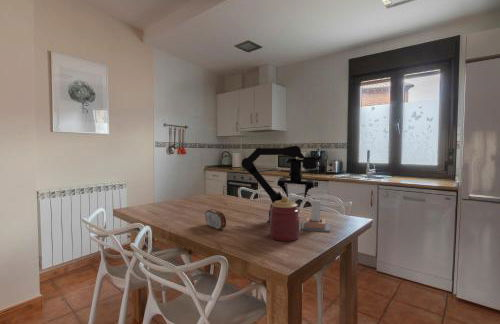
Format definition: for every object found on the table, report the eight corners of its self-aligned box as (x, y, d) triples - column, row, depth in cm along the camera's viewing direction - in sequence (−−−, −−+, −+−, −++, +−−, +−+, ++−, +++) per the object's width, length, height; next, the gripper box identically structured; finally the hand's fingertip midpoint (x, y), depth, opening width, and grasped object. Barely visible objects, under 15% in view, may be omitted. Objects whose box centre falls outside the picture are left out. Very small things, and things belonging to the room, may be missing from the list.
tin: (226, 230, 124) (226, 212, 123) (221, 231, 122) (221, 213, 121) (209, 223, 135) (209, 207, 135) (204, 225, 133) (203, 208, 133)
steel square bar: (311, 226, 127) (311, 200, 127) (311, 224, 131) (311, 199, 131) (319, 227, 126) (320, 201, 126) (319, 224, 130) (320, 199, 130)
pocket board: (301, 230, 124) (301, 223, 124) (303, 222, 137) (303, 216, 137) (329, 232, 121) (329, 225, 121) (329, 224, 133) (329, 218, 133)
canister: (283, 244, 105) (284, 200, 105) (263, 235, 116) (263, 195, 115) (305, 237, 113) (306, 197, 112) (284, 230, 123) (285, 193, 123)
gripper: (315, 165, 140) (315, 192, 145) (281, 164, 146) (282, 190, 151) (313, 172, 130) (313, 201, 135) (276, 171, 136) (277, 198, 141)
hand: (296, 197), depth 141 cm, fingers open, 9 cm apart
